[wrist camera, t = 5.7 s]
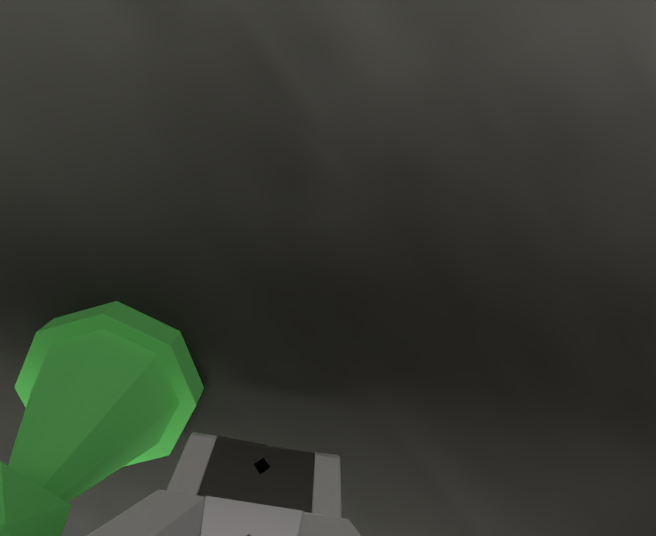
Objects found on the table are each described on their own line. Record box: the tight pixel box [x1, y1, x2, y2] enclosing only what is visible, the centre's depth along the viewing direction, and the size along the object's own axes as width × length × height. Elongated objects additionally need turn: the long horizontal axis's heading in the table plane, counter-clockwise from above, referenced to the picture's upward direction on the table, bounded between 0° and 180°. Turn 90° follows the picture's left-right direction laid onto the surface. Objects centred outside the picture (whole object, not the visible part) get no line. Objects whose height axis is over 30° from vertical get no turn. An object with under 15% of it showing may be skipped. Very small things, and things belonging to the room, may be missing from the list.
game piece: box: [0, 301, 204, 536], centre depth 10 cm, size 4×4×6 cm
